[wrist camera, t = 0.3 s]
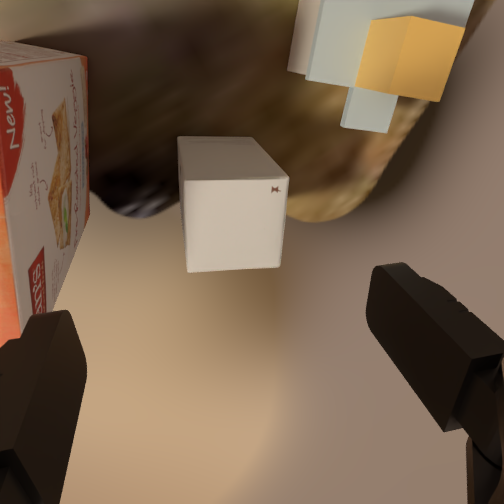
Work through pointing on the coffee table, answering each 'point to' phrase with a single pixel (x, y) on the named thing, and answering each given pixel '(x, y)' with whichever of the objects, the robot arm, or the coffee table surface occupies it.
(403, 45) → the lid
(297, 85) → the coffee table surface
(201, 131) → the coffee table surface
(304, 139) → the coffee table surface
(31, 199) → the cracker box
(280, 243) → the supplement box
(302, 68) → the tub
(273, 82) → the coffee table surface
